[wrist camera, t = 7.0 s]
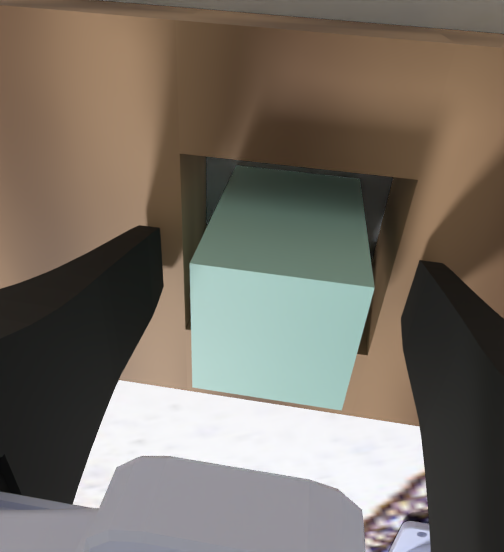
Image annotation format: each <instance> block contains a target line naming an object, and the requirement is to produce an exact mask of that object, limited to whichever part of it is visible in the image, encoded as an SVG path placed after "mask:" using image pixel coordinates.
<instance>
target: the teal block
mask: <svg viewBox="0 0 504 552" xmlns="http://www.w3.org/2000/svg"><path fill="white" fill-rule="evenodd" d="M374 288H375V287H374V279H373V272H372V264H371V257H370V250H369V242H368V235H367V227H366V220H365V213H364V205H363V198H362V190H361V183H360V179H358V178H349V177H340V176H331V175H322V174H313V173H304V172H295V171H286V170H277V169H268V168H259V167H251V166H242V165H236V167H235V169H234V171H233V173H232V175H231V177H230V180H229V182H228V184H227V186H226V188H225V190H224V192H223V194H222V196H221V198H220V201H219V203H218V205H217V207H216V209H215V211H214V213H213V215H212V217H211V219H210V222H209V224H208V226H207V228H206V230H205V232H204V234H203V236H202V238H201V240H200V243H199V245H198V247H197V249H196V251H195V253H194V255H193V257H192V259H191V261H190V304H191V350H192V387H193V388H199V389H206V390H212V391H219V392H225V393H232V394H238V395H244V396H251V397H257V398H264V399H270V400H277V401H283V402H290V403H296V404H302V405H309V406H315V407H322V408H328V409H335V410H341V411H342V408H343V404H344V400H345V396H346V393H347V389H348V385H349V382H350V378H351V374H352V370H353V367H354V363H355V359H356V355H357V352H358V348H359V344H360V340H361V337H362V333H363V329H364V326H365V322H366V318H367V314H368V311H369V307H370V303H371V299H372V296H373V292H374Z"/></svg>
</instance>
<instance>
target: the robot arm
mask: <svg viewBox="0 0 504 552" xmlns="http://www.w3.org/2000/svg"><path fill="white" fill-rule="evenodd" d="M163 287H164V282H163V266H162V251H161V235H160V228H158V227H150V226H142V225H139V226H136V227H134V228H132V229H130V230H128V231H126V232H124V233H122V234H121V235H119V236H117V237H115V238H114V239H112V240H110V241H108V242H106V243H104V244H103V245H101V246H99V247H97V248H95V249H94V250H92V251H90V252H88V253H86V254H84V255H82V256H80V257H78V258H76V259H74V260H72V261H70V262H68V263H66V264H64V265H62V266H60V267H58V268H55V269H53V270H51V271H48V272H46V273H44V274H41V275H39V276H36V277H33V278H31V279H28V280H26V281H23V282H20V283H17V284H14V285H11V286H8V287H4V288H1V289H0V552H365V535H364V523H363V515H362V509H360V508H359V507H358V506H357V505H356V504H355V503H354V502H352V501H351V500H350V499H349V498H348V497H347V496H345V495H344V494H343V493H342V492H341V491H339V490H338V489H336V488H333V487H330V486H327V485H324V484H321V483H318V482H315V481H312V480H309V479H303V478H297V477H291V476H285V475H279V474H273V473H267V472H261V471H255V470H249V469H243V468H237V467H231V466H225V465H219V464H213V463H207V462H201V461H195V460H189V459H183V458H177V457H171V456H141V457H138V458H135V459H133V460H131V461H129V462H127V463H125V464H123V465H121V466H119V467H117V468H116V470H115V473H114V475H113V477H112V480H111V482H110V484H109V487H108V489H107V491H106V494H105V496H104V498H103V501H102V503H101V505H100V508H89V507H83V506H78V505H72V504H73V501H74V498H75V495H76V492H77V489H78V485H79V483H80V480H81V477H82V474H83V471H84V468H85V465H86V462H87V460H88V457H89V454H90V451H91V448H92V445H93V443H94V440H95V437H96V435H97V432H98V429H99V427H100V424H101V421H102V419H103V416H104V414H105V411H106V409H107V406H108V404H109V401H110V399H111V396H112V394H113V391H114V389H115V387H116V384H117V382H118V380H119V378H120V376H121V374H122V372H123V370H124V369H125V367H126V365H127V363H128V361H129V359H130V358H131V356H132V354H133V352H134V350H135V348H136V347H137V345H138V343H139V341H140V339H141V337H142V336H143V334H144V332H145V330H146V328H147V326H148V324H149V322H150V321H151V319H152V317H153V315H154V312H155V310H156V307H157V304H158V302H159V299H160V296H161V293H162V290H163ZM401 333H402V346H403V353H404V358H405V362H406V367H407V371H408V376H409V380H410V384H411V389H412V393H413V398H414V402H415V406H416V411H417V415H418V420H419V425H420V431H421V438H422V447H423V457H424V466H425V477H426V489H427V500H428V515H429V524H427V523H421V522H416V521H407V522H404V523H403V524H402V526H401V528H400V530H399V532H398V534H397V536H396V538H395V540H394V542H393V544H392V546H391V549H390V551H389V552H504V318H502V317H501V316H500V315H499V314H498V313H497V312H495V311H494V310H493V309H492V308H491V307H490V306H489V305H488V304H487V303H485V302H484V301H483V300H482V299H481V298H480V297H479V296H478V295H477V294H476V293H475V292H474V291H473V290H472V289H471V288H470V287H468V286H467V285H466V284H465V283H464V282H463V281H462V280H461V279H460V278H459V277H458V276H457V275H456V274H455V273H454V272H453V271H452V270H451V269H449V268H448V267H447V266H446V265H445V264H443V263H439V262H431V261H423V260H419V263H418V266H417V269H416V272H415V276H414V279H413V282H412V285H411V288H410V291H409V294H408V297H407V300H406V303H405V307H404V310H403V313H402V316H401Z"/></svg>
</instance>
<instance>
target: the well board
mask: <svg viewBox="0 0 504 552" xmlns="http://www.w3.org/2000/svg"><path fill="white" fill-rule="evenodd" d="M206 157H215V158H224V159H233V160H242V161H251V162H260V163H270V164H279V165H288V166H297V167H306V168H315V169H324V170H333V171H342V172H351V173H360V174H369V175H378V176H388V177H393V180H392V184H391V188H390V192H389V196H388V200H387V204H386V208H385V212H384V216H383V220H382V224H381V228H380V232H379V235H378V239H377V243H376V247H375V251H374V255H373V259H372V263H371V264H372V272H373V279H374V287H375V288H374V292H373V296H372V299H371V303H370V307H369V311H368V314H367V318H366V322H365V326H364V329H363V333H362V337H361V340H360V344H359V348H358V352H357V355H356V359H355V363H354V367H353V370H352V374H351V378H350V382H349V385H348V389H347V393H346V396H345V400H344V404H343V408H342V411H341V410H335V409H328V408H322V407H315V406H309V405H302V404H296V403H290V402H283V401H277V400H270V399H264V398H257V397H251V396H244V395H238V394H232V393H225V392H219V391H212V390H206V389H199V388H193V387H192V350H191V304H190V261H191V259H192V257H193V255H194V253H195V251H196V249H197V247H198V245H199V243H200V240H201V238H202V236H203V234H204V232H205V230H206ZM139 225H142V226H150V227H158V228H160V235H161V251H162V266H163V282H164V287H163V290H162V293H161V296H160V299H159V302H158V304H157V307H156V310H155V312H154V315H153V317H152V319H151V321H150V322H149V324H148V326H147V328H146V330H145V332H144V334H143V336H142V337H141V339H140V341H139V343H138V345H137V347H136V348H135V350H134V352H133V354H132V356H131V358H130V359H129V361H128V363H127V365H126V367H125V369H124V370H123V372H122V374H121V376H120V378H119V380H123V381H130V382H136V383H143V384H149V385H156V386H162V387H168V388H175V389H181V390H188V391H194V392H201V393H207V394H214V395H220V396H227V397H233V398H240V399H246V400H253V401H259V402H266V403H272V404H279V405H285V406H292V407H298V408H304V409H311V410H317V411H324V412H330V413H337V414H343V415H350V416H356V417H363V418H369V419H376V420H382V421H389V422H395V423H402V424H408V425H415V426H420V425H419V420H418V415H417V411H416V406H415V402H414V398H413V393H412V389H411V384H410V380H409V376H408V371H407V367H406V362H405V358H404V353H403V346H402V333H401V316H402V313H403V310H404V307H405V303H406V300H407V297H408V294H409V291H410V288H411V285H412V282H413V279H414V276H415V272H416V269H417V266H418V263H419V260H423V261H431V262H439V263H443V264H445V265H446V266H447V267H448V268H449V269H451V270H452V271H453V272H454V273H455V274H456V275H457V276H458V277H459V278H460V279H461V280H462V281H463V282H464V283H465V284H466V285H467V286H468V287H470V288H471V289H472V290H473V291H474V292H475V293H476V294H477V295H478V296H479V297H480V298H481V299H482V300H483V301H484V302H485V303H487V304H488V305H489V306H490V307H491V308H492V309H493V310H494V311H495V312H497V313H498V314H499V315H500V316H501V317H502V318H504V34H498V33H486V32H474V31H462V30H450V29H438V28H426V27H414V26H401V25H389V24H377V23H365V22H353V21H341V20H329V19H317V18H305V17H292V16H280V15H268V14H256V13H244V12H232V11H220V10H208V9H196V8H184V7H171V6H159V5H147V4H135V3H123V2H111V1H99V0H0V289H1V288H4V287H8V286H11V285H14V284H17V283H20V282H23V281H26V280H28V279H31V278H33V277H36V276H39V275H41V274H44V273H46V272H48V271H51V270H53V269H55V268H58V267H60V266H62V265H64V264H66V263H68V262H70V261H72V260H74V259H76V258H78V257H80V256H82V255H84V254H86V253H88V252H90V251H92V250H94V249H95V248H97V247H99V246H101V245H103V244H104V243H106V242H108V241H110V240H112V239H114V238H115V237H117V236H119V235H121V234H122V233H124V232H126V231H128V230H130V229H132V228H134V227H136V226H139Z"/></svg>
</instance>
